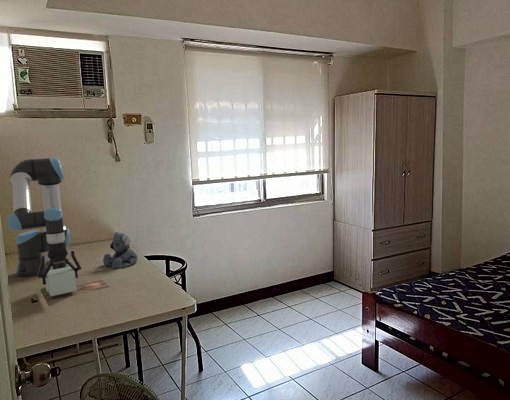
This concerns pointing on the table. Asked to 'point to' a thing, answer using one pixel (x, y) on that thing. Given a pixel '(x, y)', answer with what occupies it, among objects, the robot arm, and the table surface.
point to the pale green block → (61, 281)
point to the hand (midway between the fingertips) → (61, 288)
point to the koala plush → (120, 252)
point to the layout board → (79, 290)
